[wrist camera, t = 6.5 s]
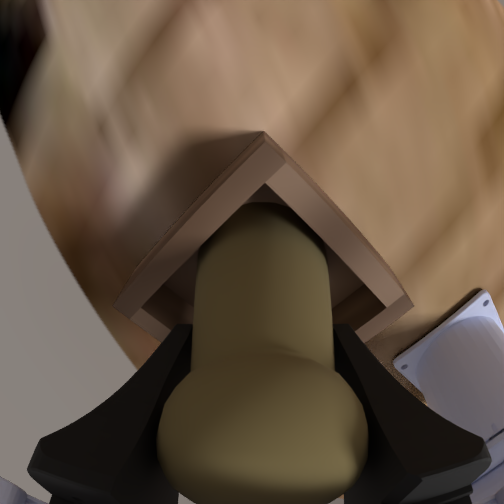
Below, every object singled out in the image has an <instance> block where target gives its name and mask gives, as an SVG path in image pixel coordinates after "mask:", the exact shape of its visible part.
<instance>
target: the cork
mask: <svg viewBox="0 0 504 504" xmlns="http://www.w3.org/2000/svg"><path fill="white" fill-rule="evenodd" d="M156 446H157V459H158V461H159V463H160V466H161V468H162V470H163V472H164V475H165V477H166V479H167V480H168V482H169V484H170V485H171V487H172V488H174V489H175V490H176V491H178V492H179V493H180V494H182V495H183V496H185V497H186V498H188V499H189V500H191V501H192V502H194V503H196V504H328V503H330V502H332V501H333V500H335V499H336V498H338V497H340V496H341V495H343V494H344V493H345V492H347V491H348V490H349V489H351V488H352V487H353V485H354V484H355V483H356V481H357V480H358V478H359V477H360V475H361V472H362V470H363V468H364V466H365V464H366V461H367V459H368V447H369V434H368V424H367V421H366V417H365V413H364V410H363V406H362V404H361V402H360V401H359V399H358V398H357V396H356V394H355V393H354V391H353V390H352V388H351V387H350V386H349V385H348V384H347V382H346V381H345V380H344V379H343V378H342V377H341V375H340V374H339V373H337V372H335V356H334V338H333V323H332V309H331V297H330V285H329V274H328V264H327V255H326V250H325V246H324V242H323V239H322V238H321V237H320V236H319V235H318V234H317V233H316V232H315V231H314V230H313V229H312V228H311V227H310V226H309V225H308V224H307V223H306V222H305V221H304V220H303V219H302V218H301V217H300V216H299V215H298V214H297V213H296V212H295V211H294V210H293V209H292V208H290V207H287V206H284V205H281V204H278V203H275V202H251V203H248V204H244V205H241V206H240V207H239V208H238V209H237V210H236V211H235V212H234V213H233V214H232V215H231V216H230V217H229V218H228V219H227V220H226V221H225V222H224V223H223V224H222V225H221V226H220V227H219V228H218V229H217V230H216V231H215V232H214V233H213V234H212V235H211V236H210V237H209V238H208V239H207V240H206V241H205V242H204V243H203V244H202V245H201V246H200V248H199V252H198V260H197V272H196V285H195V299H194V315H193V331H192V351H191V372H190V373H189V374H188V375H187V376H186V377H185V378H184V379H183V380H182V381H181V382H180V383H179V384H178V385H177V386H176V387H175V389H174V390H173V392H172V393H171V395H170V396H169V398H168V400H167V401H166V403H165V404H164V408H163V412H162V415H161V419H160V423H159V427H158V432H157V437H156Z"/></svg>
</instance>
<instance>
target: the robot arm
mask: <svg viewBox="0 0 504 504" xmlns="http://www.w3.org/2000/svg"><path fill="white" fill-rule="evenodd" d="M192 331H193V324H176V325H175V326H174V327H173V329H172V330H171V331H170V333H169V334H168V335H167V337H166V338H165V339H164V340H163V342H162V343H161V344H160V345H159V347H158V348H157V349H156V350H155V352H154V353H153V354H152V355H151V356H150V358H149V359H148V360H147V361H146V362H145V363H144V364H143V366H142V367H141V368H140V369H139V370H138V371H137V372H136V373H135V374H134V375H133V376H132V377H131V378H130V379H129V380H128V381H127V382H126V383H125V384H124V385H123V386H122V387H121V388H120V389H119V390H118V391H116V392H115V393H114V394H113V395H112V396H111V397H109V398H108V399H107V400H105V402H103V403H102V404H100V405H99V406H98V407H96V408H95V409H94V410H92V411H91V412H89V413H88V414H86V415H85V416H83V417H81V418H80V419H78V420H77V421H75V422H73V423H71V424H70V425H68V426H66V427H64V428H62V429H60V430H58V431H56V432H54V433H52V434H50V435H47V436H45V437H43V438H41V439H40V440H39V442H38V444H37V446H36V449H35V451H34V453H33V456H32V458H31V460H30V463H29V465H28V468H27V471H28V473H29V475H30V476H31V477H32V478H33V479H34V480H35V481H36V482H37V483H39V484H40V485H41V486H42V487H43V488H45V489H46V490H47V491H49V492H50V493H51V494H52V497H51V500H50V503H49V504H178V495H179V492H178V491H176V490H175V489H174V488H172V487H171V485H170V484H169V482H168V480H167V479H166V477H165V475H164V472H163V470H162V468H161V466H160V463H159V461H158V459H157V446H156V437H157V432H158V427H159V423H160V419H161V415H162V412H163V408H164V404H165V403H166V401H167V400H168V398H169V396H170V395H171V393H172V392H173V390H174V389H175V387H176V386H177V385H178V384H179V383H180V382H181V381H182V380H183V379H184V378H185V377H186V376H187V375H188V374H189V373H190V372H191V351H192ZM333 338H334V356H335V372H337V373H339V374H340V375H341V377H342V378H343V379H344V380H345V381H346V382H347V384H348V385H349V386H350V387H351V388H352V390H353V391H354V393H355V394H356V396H357V398H358V399H359V401H360V402H361V404H362V406H363V410H364V413H365V417H366V421H367V424H368V434H369V447H368V459H367V461H366V464H365V466H364V468H363V470H362V472H361V475H360V477H359V478H358V480H357V481H356V483H355V484H354V485H353V487H352V488H351V489H349V490H348V491H347V492H345V493H344V504H504V328H503V326H502V323H501V321H500V318H499V316H498V313H497V311H496V308H495V306H494V304H493V301H492V299H491V297H490V295H489V293H488V292H487V291H486V290H481V291H480V292H479V293H477V294H476V295H475V296H474V297H473V298H472V299H471V300H469V301H468V302H467V303H466V304H465V305H464V306H462V307H461V308H460V309H459V310H458V311H457V312H455V313H454V314H453V315H452V316H451V317H449V318H448V319H447V320H446V321H444V322H443V323H442V324H441V325H439V326H438V327H437V328H435V329H434V330H433V331H432V332H430V333H429V334H428V335H426V336H425V337H424V338H422V339H421V340H420V341H418V342H417V343H416V344H414V345H413V346H412V347H410V348H409V349H407V350H406V351H405V352H403V353H402V354H400V355H399V356H398V357H396V358H395V359H394V361H393V364H394V367H395V368H396V369H397V370H398V371H399V372H400V373H401V374H402V375H404V376H405V377H406V378H407V379H408V380H409V381H410V382H411V383H412V384H413V385H414V386H415V387H416V388H418V389H419V390H420V391H421V392H422V393H423V395H424V398H425V400H426V403H427V405H428V406H426V405H425V404H423V403H422V402H421V401H419V400H418V399H417V398H416V397H414V396H413V395H412V394H411V393H410V392H409V391H408V390H406V389H405V388H404V387H403V386H402V385H401V384H400V383H399V382H398V381H397V380H396V379H395V378H394V377H393V376H392V375H391V374H390V373H389V372H388V371H387V370H386V369H385V368H384V367H383V365H382V364H381V363H380V362H379V361H378V360H377V358H376V357H375V356H374V355H373V354H372V353H371V351H370V350H369V349H368V348H367V346H366V345H365V344H364V343H363V341H362V340H361V339H360V338H359V336H358V335H357V334H356V332H355V331H354V330H353V329H352V327H351V326H350V325H349V324H333ZM0 504H48V503H46V502H43V501H41V500H39V499H36V498H34V497H32V496H30V495H28V494H27V493H26V492H25V491H24V490H22V489H21V488H19V487H18V486H17V485H15V484H13V483H12V482H10V481H8V480H6V479H4V478H2V477H0Z"/></svg>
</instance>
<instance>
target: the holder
mask: <svg viewBox="0 0 504 504" xmlns="http://www.w3.org/2000/svg"><path fill="white" fill-rule="evenodd" d="M251 202H275V203H278V204H281V205H284V206H287V207H290V208H292V209H293V210H294V211H295V212H296V213H297V214H298V215H299V216H300V217H301V218H302V219H303V220H304V221H305V222H306V223H307V224H308V225H309V226H310V227H311V228H312V229H313V230H314V231H315V232H316V233H317V234H318V235H319V236H320V237H321V238H322V239H323V242H324V246H325V250H326V255H327V264H328V274H329V285H330V297H331V309H332V323H333V324H349V325H350V326H351V327H352V329H353V330H354V331H355V332H356V334H357V335H358V336H359V338H360V339H361V340H362V341H363V343H366V342H367V341H368V340H370V339H371V338H373V337H374V336H375V335H377V334H378V333H380V332H381V331H382V330H384V329H385V328H386V327H388V326H389V325H390V324H392V323H393V322H394V321H396V320H397V319H398V318H400V317H401V316H402V315H404V314H405V313H406V312H407V311H409V310H410V309H411V308H413V307H414V305H413V303H412V301H411V300H410V298H409V296H408V295H407V293H406V291H405V290H404V288H403V287H402V285H401V283H400V282H399V280H398V279H397V277H396V276H395V274H394V272H393V271H392V269H391V268H390V267H389V265H388V264H387V263H386V262H385V260H384V259H383V258H382V257H381V256H380V254H379V253H378V252H377V251H376V250H375V249H374V247H373V246H372V245H371V244H370V243H369V241H368V240H367V239H366V238H365V237H364V236H363V235H362V233H361V232H360V231H359V230H358V229H357V228H356V227H355V225H354V224H353V223H352V222H351V221H350V220H349V219H348V218H347V216H346V215H345V214H344V213H343V212H342V211H341V210H340V209H339V208H338V206H337V205H336V204H335V203H334V202H333V201H332V200H331V199H330V198H329V197H328V196H327V194H326V193H325V192H324V191H323V190H322V189H321V188H320V187H319V186H318V185H317V184H316V183H315V182H314V181H313V180H312V179H311V178H310V177H309V175H308V174H307V173H306V172H305V171H304V170H303V169H302V168H301V167H300V166H299V165H298V164H297V163H296V162H295V161H294V160H293V159H292V158H291V157H290V156H289V155H288V154H287V153H286V152H285V151H284V150H283V149H282V148H281V147H280V146H279V145H278V144H277V143H276V142H275V141H274V140H273V139H272V138H271V137H270V136H269V135H268V134H267V133H265V132H264V131H263V132H262V133H261V134H260V135H259V136H258V137H257V138H256V139H255V140H254V141H253V142H252V143H251V144H250V145H249V146H248V147H247V148H246V149H245V150H244V151H243V152H242V153H241V154H240V155H239V156H238V157H237V158H236V159H235V160H234V161H233V162H232V163H231V164H230V165H229V166H228V167H227V168H226V169H225V170H224V171H223V172H222V173H221V174H220V175H219V176H218V178H217V179H216V180H215V181H214V182H213V183H212V184H211V185H210V186H209V187H208V188H207V189H206V190H205V191H204V192H203V193H202V194H201V195H200V196H199V198H198V199H197V200H196V201H195V202H194V203H193V204H192V205H191V206H190V207H189V208H188V209H187V210H186V212H185V213H184V214H183V215H182V216H181V217H180V218H179V219H178V220H177V221H176V223H175V224H174V225H173V226H172V227H171V228H170V229H169V230H168V231H167V233H166V234H165V235H164V236H163V237H162V238H161V239H160V240H159V242H158V243H157V244H156V245H155V246H154V247H153V248H152V250H151V251H150V252H149V253H148V254H147V255H146V257H145V258H144V259H143V260H142V261H141V262H140V264H139V265H138V266H137V267H136V268H135V270H134V272H133V273H132V275H131V276H130V278H129V280H128V281H127V283H126V284H125V286H124V288H123V289H122V291H121V293H120V294H119V296H118V297H117V299H116V301H115V302H114V304H113V307H114V308H116V309H117V310H118V311H119V312H121V313H122V314H123V315H125V316H126V317H127V318H129V319H130V320H131V321H133V322H134V323H135V324H137V325H138V326H139V327H141V328H142V329H143V330H145V331H146V332H148V333H149V334H150V335H152V336H153V337H154V338H156V339H157V340H159V341H160V342H163V340H164V339H165V338H166V337H167V335H168V334H169V333H170V331H171V330H172V329H173V327H174V326H175V325H176V324H193V315H194V299H195V285H196V272H197V260H198V252H199V248H200V246H201V245H202V244H203V243H204V242H205V241H206V240H207V239H208V238H209V237H210V236H211V235H212V234H213V233H214V232H215V231H216V230H217V229H218V228H219V227H220V226H221V225H222V224H223V223H224V222H225V221H226V220H227V219H228V218H229V217H230V216H231V215H232V214H233V213H234V212H235V211H236V210H237V209H238V208H239V207H240V206H241V205H244V204H248V203H251Z"/></svg>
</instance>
